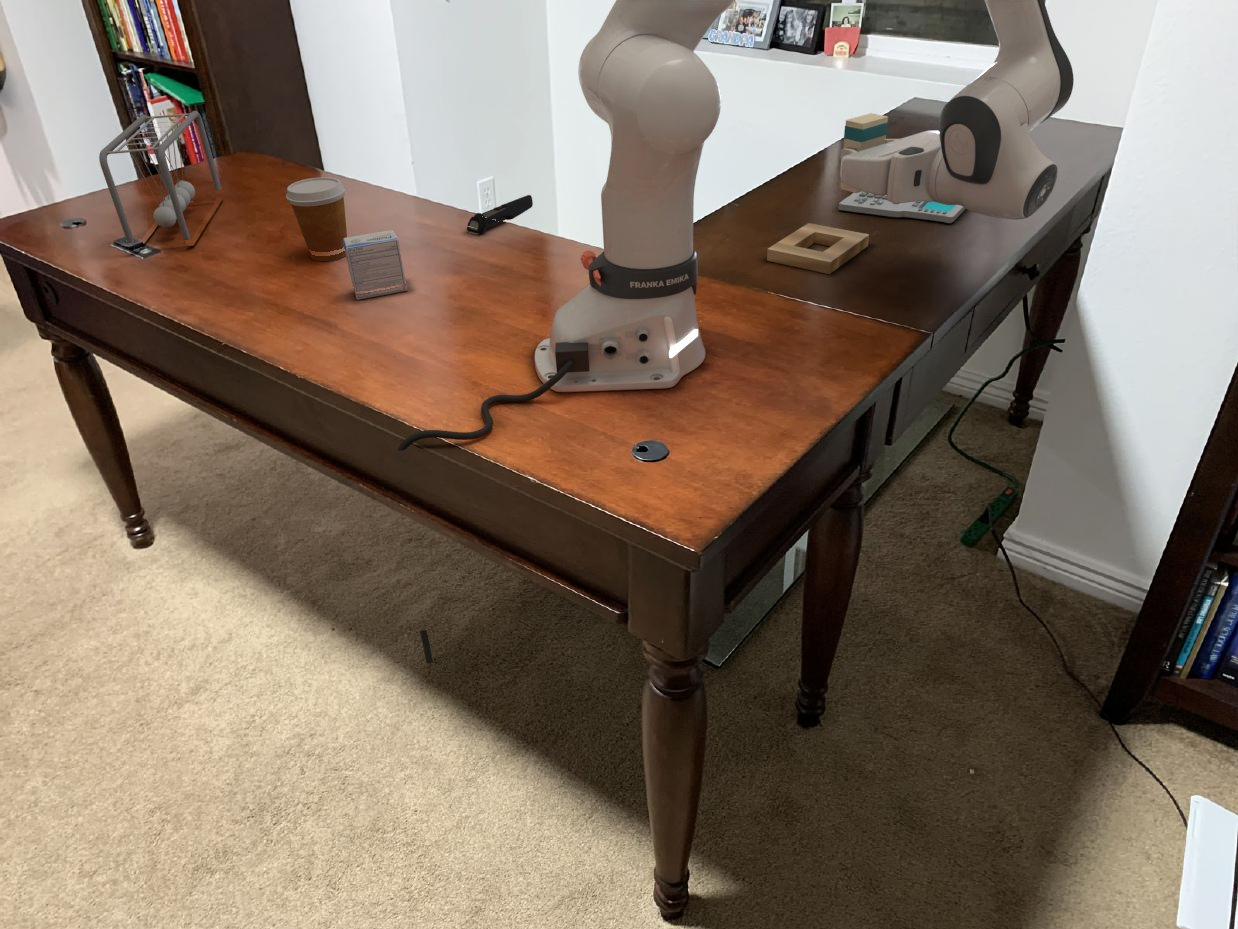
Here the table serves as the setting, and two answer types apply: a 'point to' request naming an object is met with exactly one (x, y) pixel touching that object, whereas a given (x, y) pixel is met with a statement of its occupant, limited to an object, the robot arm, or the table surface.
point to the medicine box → (375, 263)
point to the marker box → (864, 135)
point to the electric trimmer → (499, 214)
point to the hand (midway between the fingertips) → (858, 148)
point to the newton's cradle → (176, 195)
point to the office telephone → (900, 207)
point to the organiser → (825, 262)
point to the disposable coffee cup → (320, 214)
